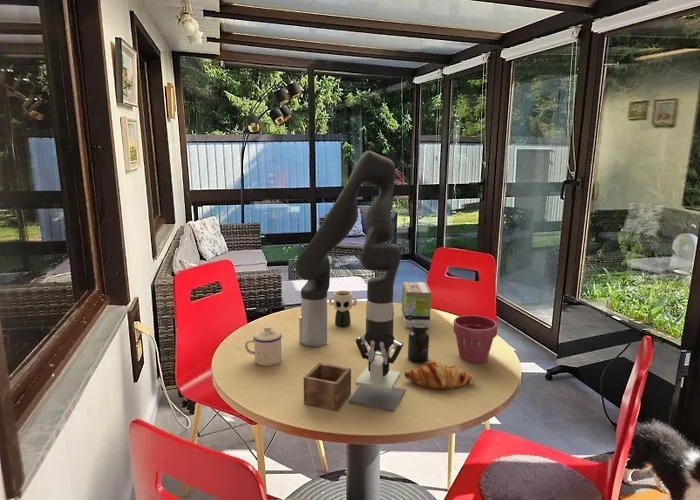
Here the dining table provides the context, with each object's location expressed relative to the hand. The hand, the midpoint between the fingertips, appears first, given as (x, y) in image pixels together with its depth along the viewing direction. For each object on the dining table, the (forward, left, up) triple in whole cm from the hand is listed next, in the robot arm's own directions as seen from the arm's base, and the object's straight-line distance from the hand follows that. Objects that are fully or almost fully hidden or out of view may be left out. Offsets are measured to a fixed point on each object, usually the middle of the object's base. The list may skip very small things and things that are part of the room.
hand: (378, 373), depth 135 cm
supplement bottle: (+5, +28, -7) cm, 30 cm away
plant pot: (+22, +36, -7) cm, 43 cm away
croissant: (+15, +14, -7) cm, 22 cm away
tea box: (-4, +62, -7) cm, 63 cm away
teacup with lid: (-42, +8, -7) cm, 44 cm away
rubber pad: (0, 0, -7) cm, 7 cm away
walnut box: (-13, -7, -7) cm, 16 cm away
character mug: (-30, +48, -7) cm, 57 cm away
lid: (0, 0, -3) cm, 3 cm away
